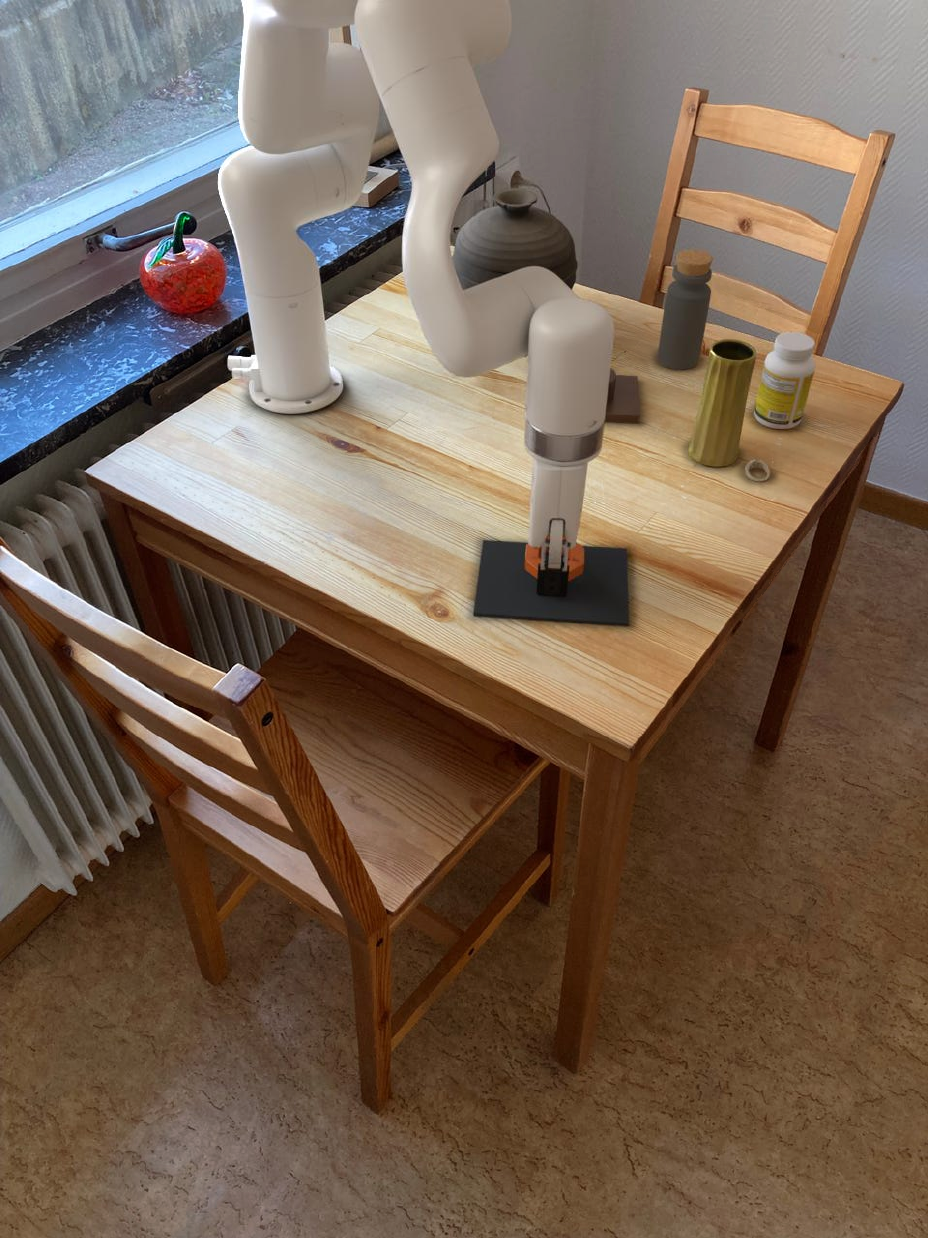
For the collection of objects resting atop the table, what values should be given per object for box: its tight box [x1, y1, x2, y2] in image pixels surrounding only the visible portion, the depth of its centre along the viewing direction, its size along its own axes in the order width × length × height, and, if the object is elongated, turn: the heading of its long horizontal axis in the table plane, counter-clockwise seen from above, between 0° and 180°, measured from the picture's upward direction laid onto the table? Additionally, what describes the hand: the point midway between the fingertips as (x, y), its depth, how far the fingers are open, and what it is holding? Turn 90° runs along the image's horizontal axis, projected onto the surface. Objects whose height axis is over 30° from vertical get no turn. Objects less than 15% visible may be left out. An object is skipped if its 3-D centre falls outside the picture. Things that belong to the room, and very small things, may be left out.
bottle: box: [657, 249, 714, 371], centre depth 136 cm, size 6×6×15 cm
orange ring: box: [525, 535, 584, 581], centre depth 106 cm, size 6×6×1 cm
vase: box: [687, 338, 757, 468], centre depth 119 cm, size 6×6×14 cm
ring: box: [743, 458, 771, 483], centre depth 121 cm, size 2×3×3 cm
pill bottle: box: [753, 331, 816, 430], centre depth 126 cm, size 6×6×11 cm
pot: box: [452, 187, 579, 291], centre depth 141 cm, size 18×18×20 cm
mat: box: [472, 539, 630, 627], centre depth 107 cm, size 16×12×1 cm
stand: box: [605, 367, 640, 424], centre depth 130 cm, size 12×10×8 cm
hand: (552, 571), depth 107 cm, fingers closed on orange ring, 6 cm apart
